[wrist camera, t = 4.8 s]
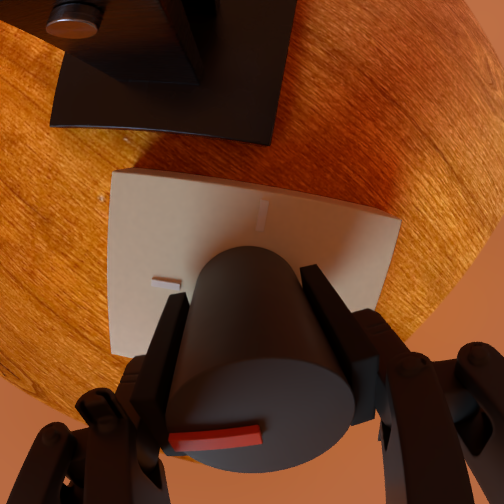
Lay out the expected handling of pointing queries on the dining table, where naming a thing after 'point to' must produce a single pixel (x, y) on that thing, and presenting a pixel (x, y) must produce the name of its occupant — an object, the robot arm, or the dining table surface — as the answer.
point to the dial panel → (228, 242)
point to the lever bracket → (165, 63)
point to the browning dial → (255, 370)
